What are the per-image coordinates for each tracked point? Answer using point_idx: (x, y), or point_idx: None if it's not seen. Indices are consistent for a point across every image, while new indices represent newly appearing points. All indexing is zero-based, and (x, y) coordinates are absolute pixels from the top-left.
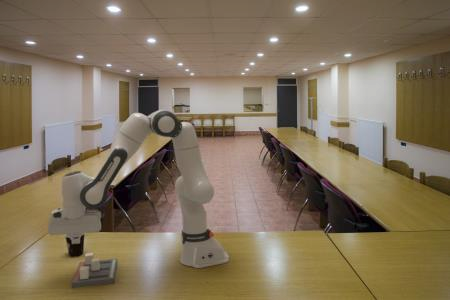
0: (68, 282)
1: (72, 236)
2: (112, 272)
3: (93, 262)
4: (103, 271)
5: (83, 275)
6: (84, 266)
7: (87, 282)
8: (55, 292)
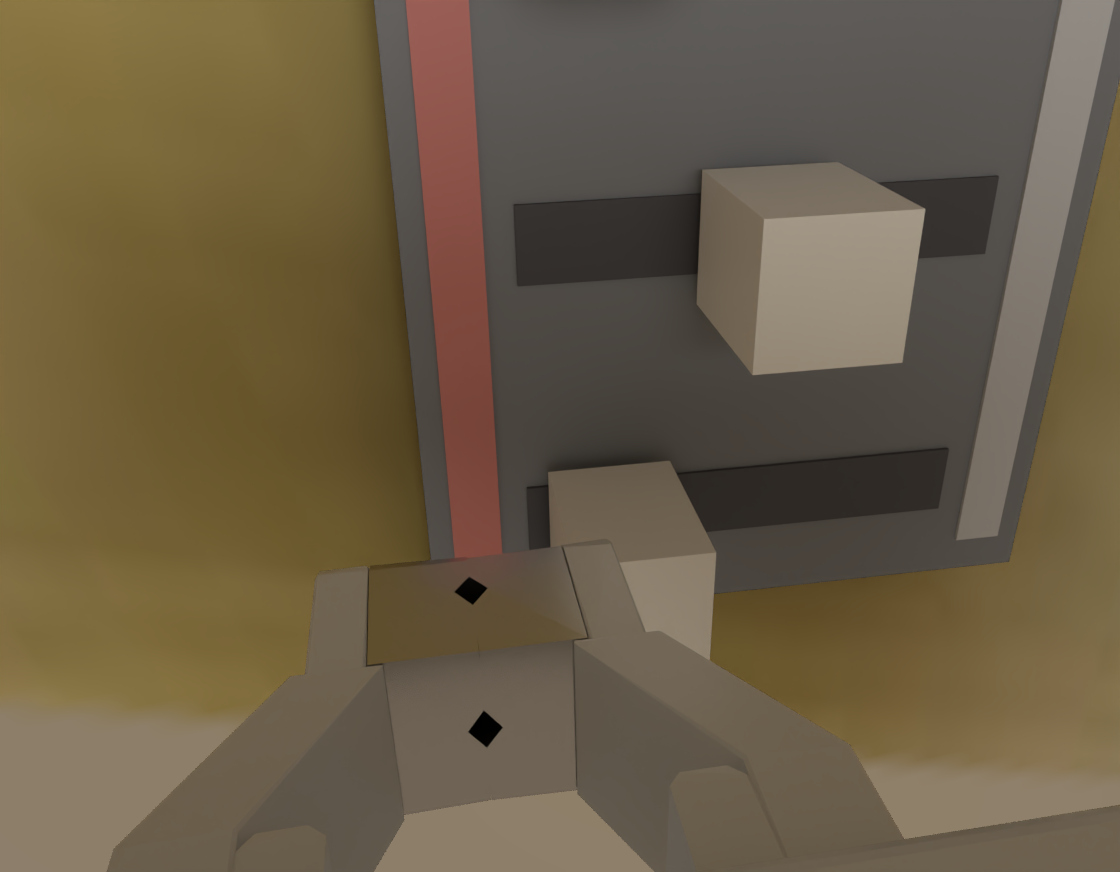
0: (329, 416)
1: (308, 771)
2: (1015, 389)
3: (788, 364)
4: None
5: None
6: (641, 566)
7: None
8: (246, 661)
